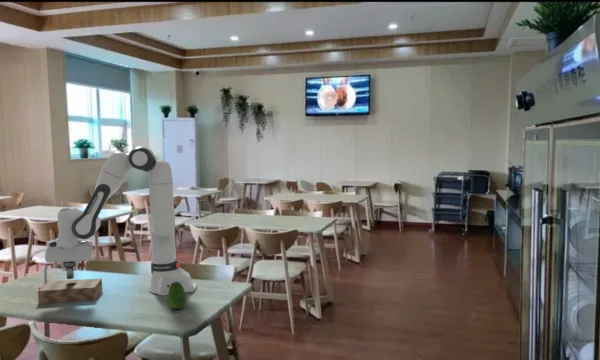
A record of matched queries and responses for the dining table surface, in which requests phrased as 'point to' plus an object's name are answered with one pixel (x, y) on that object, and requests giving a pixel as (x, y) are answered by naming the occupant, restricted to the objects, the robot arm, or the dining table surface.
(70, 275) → the steel pin
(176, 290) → the avocado
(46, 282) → the tow hook
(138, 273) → the dining table surface
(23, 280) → the dining table surface
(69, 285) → the hitch block
